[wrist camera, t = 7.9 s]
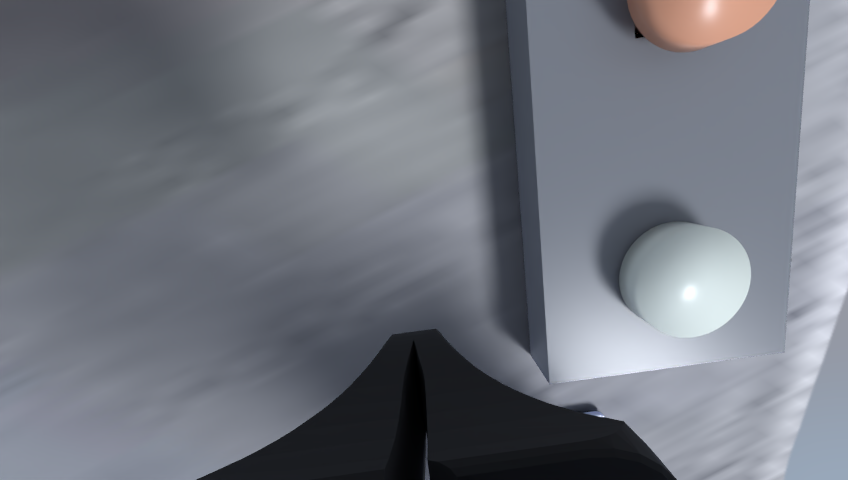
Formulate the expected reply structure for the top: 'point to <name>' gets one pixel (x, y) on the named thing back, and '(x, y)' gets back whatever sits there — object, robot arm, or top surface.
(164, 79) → the top surface
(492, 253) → the top surface
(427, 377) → the robot arm
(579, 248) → the block
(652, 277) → the sage plunger
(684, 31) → the orange-brown rounded piece
